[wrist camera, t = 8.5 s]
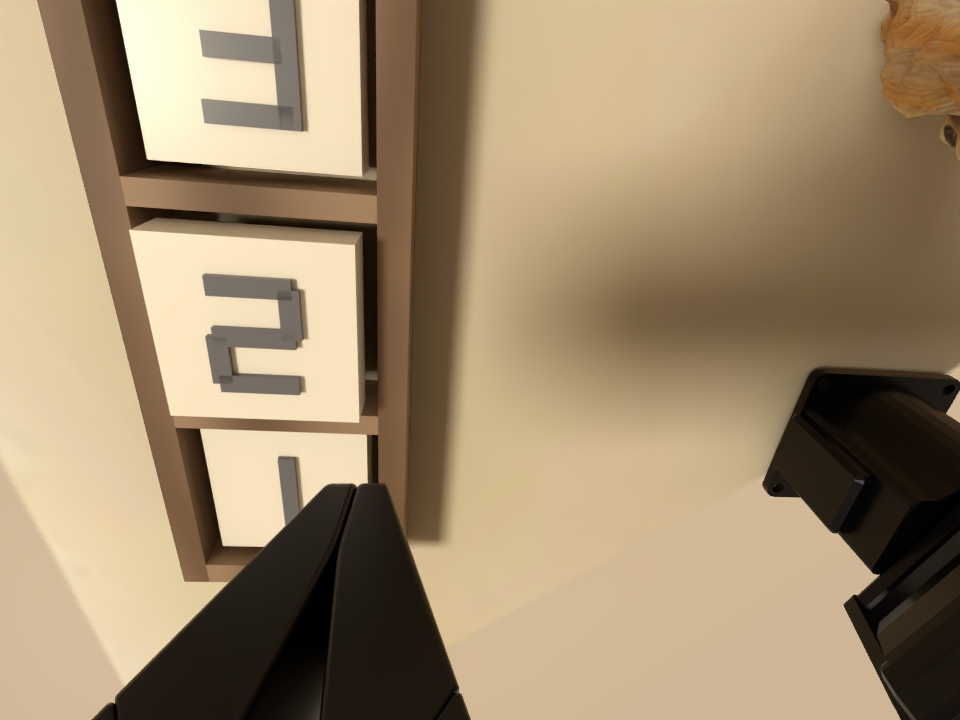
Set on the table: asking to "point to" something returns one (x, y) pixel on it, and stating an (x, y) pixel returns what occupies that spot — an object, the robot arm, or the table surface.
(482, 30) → the table surface
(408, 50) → the tile rack
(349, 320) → the tile
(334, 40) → the tile
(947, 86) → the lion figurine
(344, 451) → the tile
